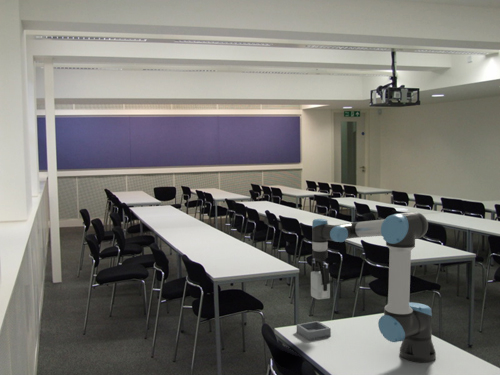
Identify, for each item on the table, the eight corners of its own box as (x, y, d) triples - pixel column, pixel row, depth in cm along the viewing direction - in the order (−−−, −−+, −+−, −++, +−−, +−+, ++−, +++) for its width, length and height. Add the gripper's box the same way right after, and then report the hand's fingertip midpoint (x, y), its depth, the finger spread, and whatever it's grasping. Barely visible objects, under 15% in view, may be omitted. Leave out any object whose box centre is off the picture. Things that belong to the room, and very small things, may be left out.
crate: (330, 336, 243) (330, 328, 243) (308, 340, 238) (308, 332, 238) (317, 328, 255) (317, 320, 254) (296, 332, 250) (296, 324, 250)
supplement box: (330, 298, 245) (330, 273, 244) (317, 299, 243) (317, 274, 242) (323, 294, 252) (323, 269, 251) (310, 295, 250) (310, 271, 249)
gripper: (337, 252, 238) (337, 299, 239) (316, 245, 257) (316, 288, 258) (323, 254, 235) (323, 301, 237) (303, 247, 254) (304, 290, 255)
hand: (320, 294), depth 247 cm, fingers closed on supplement box, 7 cm apart
